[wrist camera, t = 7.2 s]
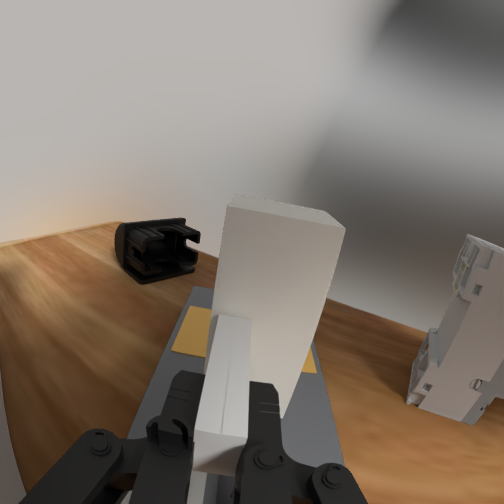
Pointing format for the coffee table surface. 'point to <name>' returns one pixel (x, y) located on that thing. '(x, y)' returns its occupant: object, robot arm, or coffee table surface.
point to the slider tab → (275, 283)
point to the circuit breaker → (465, 340)
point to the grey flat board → (292, 424)
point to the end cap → (156, 249)
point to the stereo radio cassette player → (8, 463)
